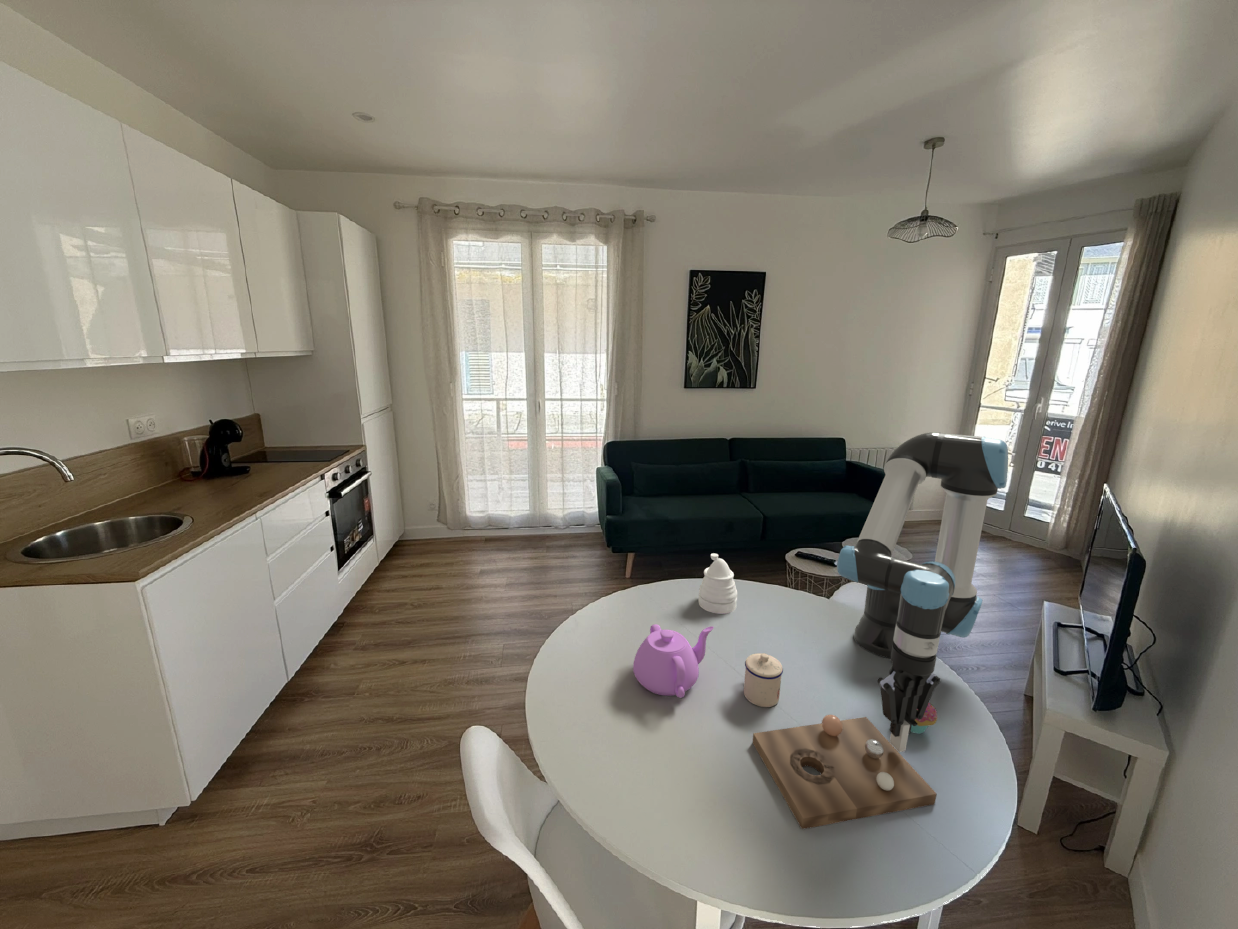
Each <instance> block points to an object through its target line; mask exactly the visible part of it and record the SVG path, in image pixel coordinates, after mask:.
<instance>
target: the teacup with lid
mask: <svg viewBox="0 0 1238 929" xmlns="http://www.w3.org/2000/svg"><path fill="white" fill-rule="evenodd" d="M744 666H745V670H744V684H743V695H744V696H745V699H747V701H749V702H750V703H752V704H753V705H755V706H757V707H761V708H770V707H771V708H772V707H774V706H776V705H777V704H778V703H779V701H780V694H781V693H780V692H781V685H782V684H781V683H782V676H783V673H784V668H783V665H782V663H781V661H780V660H778V659H777V658H776V657H774V656H772V655H770V654H767V653H753V654H749V656H747V657H746V659H745V661H744Z"/></svg>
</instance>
